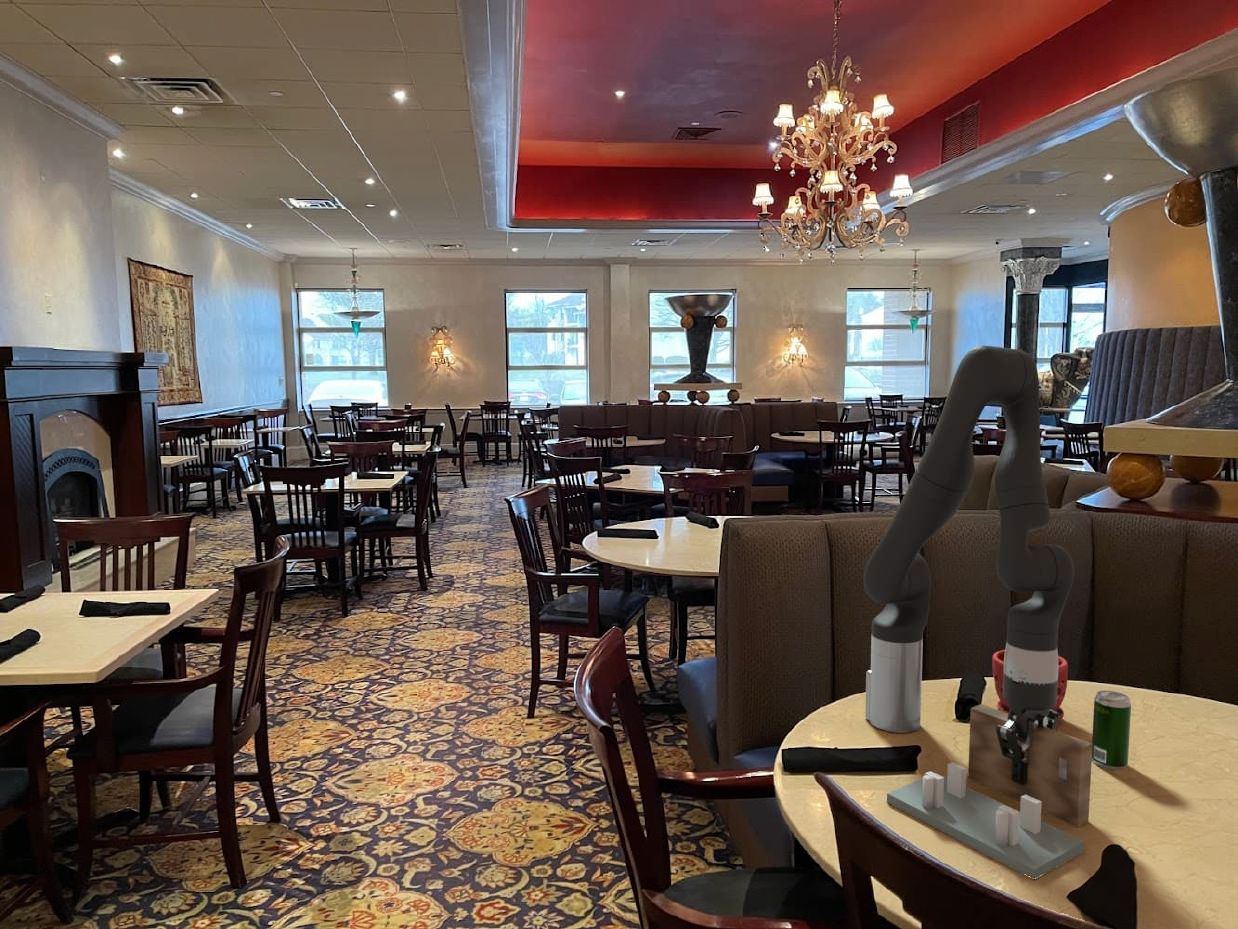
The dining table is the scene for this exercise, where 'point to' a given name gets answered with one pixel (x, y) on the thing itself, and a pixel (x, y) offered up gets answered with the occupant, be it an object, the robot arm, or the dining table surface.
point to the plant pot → (998, 678)
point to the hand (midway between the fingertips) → (1025, 779)
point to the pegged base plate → (987, 822)
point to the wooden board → (1033, 766)
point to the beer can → (1111, 730)
